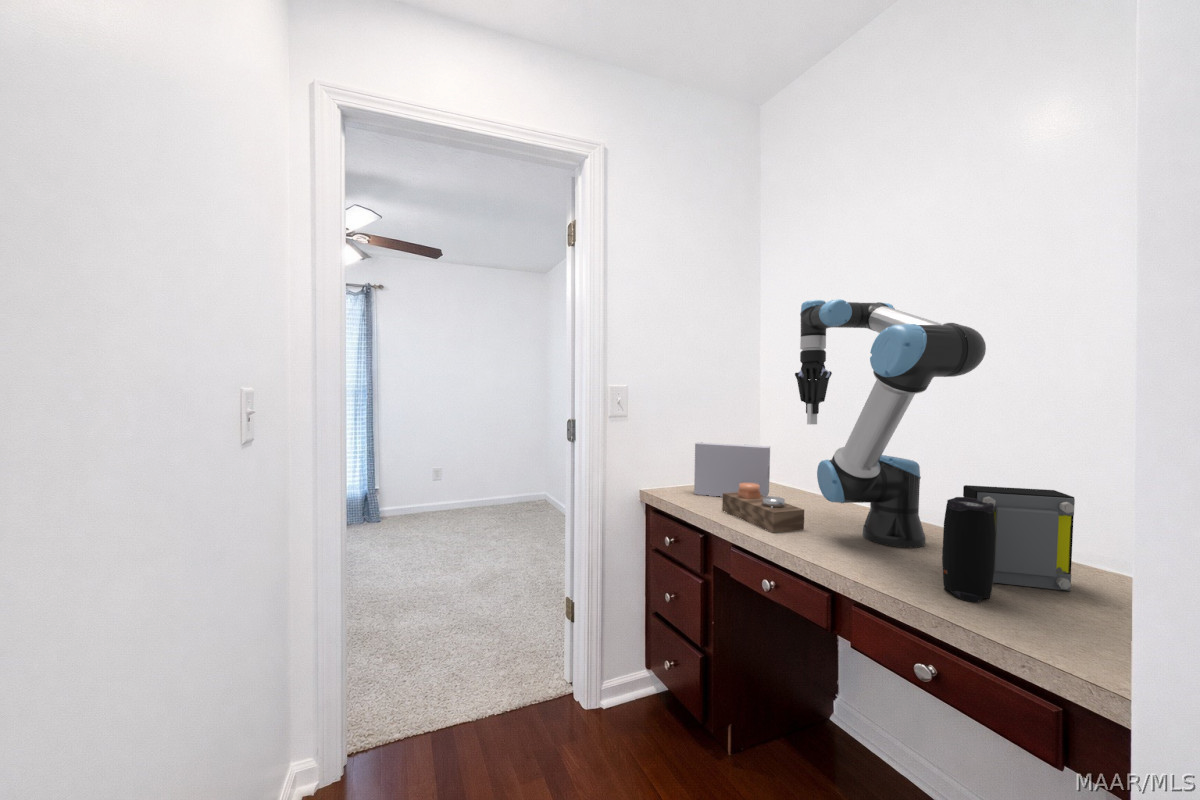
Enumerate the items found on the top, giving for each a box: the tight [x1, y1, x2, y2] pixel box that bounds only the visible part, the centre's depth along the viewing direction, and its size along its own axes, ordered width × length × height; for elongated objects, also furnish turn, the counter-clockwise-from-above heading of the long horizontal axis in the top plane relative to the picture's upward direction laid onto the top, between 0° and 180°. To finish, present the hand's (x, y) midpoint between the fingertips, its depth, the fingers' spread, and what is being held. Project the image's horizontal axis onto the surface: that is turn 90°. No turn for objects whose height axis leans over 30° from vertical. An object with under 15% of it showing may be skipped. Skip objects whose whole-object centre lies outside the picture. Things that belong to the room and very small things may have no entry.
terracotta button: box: [738, 483, 760, 499], centre depth 162 cm, size 6×6×6 cm
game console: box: [693, 441, 771, 498], centre depth 188 cm, size 6×27×20 cm, turn 67°
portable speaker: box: [941, 496, 996, 603], centre depth 102 cm, size 9×9×20 cm
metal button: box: [762, 495, 786, 508], centre depth 151 cm, size 6×6×6 cm
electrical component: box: [962, 484, 1076, 592], centre depth 109 cm, size 18×10×20 cm, turn 73°
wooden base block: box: [721, 492, 805, 534], centre depth 157 cm, size 26×11×6 cm, turn 19°
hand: (812, 424), depth 157 cm, fingers closed
